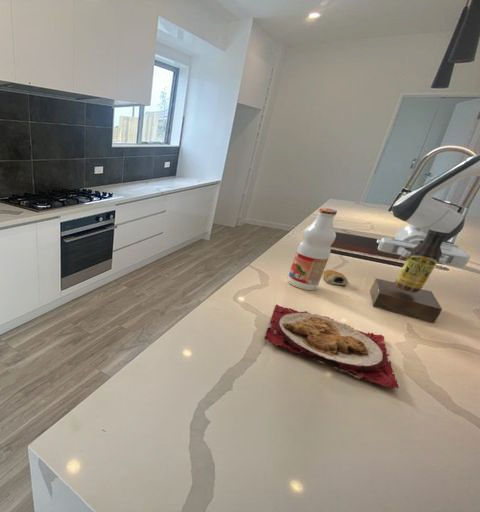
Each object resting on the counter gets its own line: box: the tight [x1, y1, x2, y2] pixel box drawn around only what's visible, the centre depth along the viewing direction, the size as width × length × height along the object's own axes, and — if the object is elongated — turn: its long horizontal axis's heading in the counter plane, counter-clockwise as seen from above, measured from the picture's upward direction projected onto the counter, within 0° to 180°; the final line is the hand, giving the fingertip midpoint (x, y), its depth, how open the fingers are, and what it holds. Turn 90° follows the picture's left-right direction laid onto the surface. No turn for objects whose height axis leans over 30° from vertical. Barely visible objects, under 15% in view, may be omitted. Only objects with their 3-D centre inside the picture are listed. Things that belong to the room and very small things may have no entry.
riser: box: [369, 277, 443, 324], centre depth 97 cm, size 14×14×5 cm
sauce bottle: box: [394, 228, 449, 292], centre depth 92 cm, size 6×6×20 cm
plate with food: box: [263, 304, 400, 389], centre depth 78 cm, size 24×26×4 cm
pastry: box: [322, 269, 349, 286], centre depth 113 cm, size 9×7×4 cm
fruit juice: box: [287, 207, 338, 291], centre depth 103 cm, size 9×9×28 cm
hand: (424, 258), depth 90 cm, fingers closed on sauce bottle, 6 cm apart
